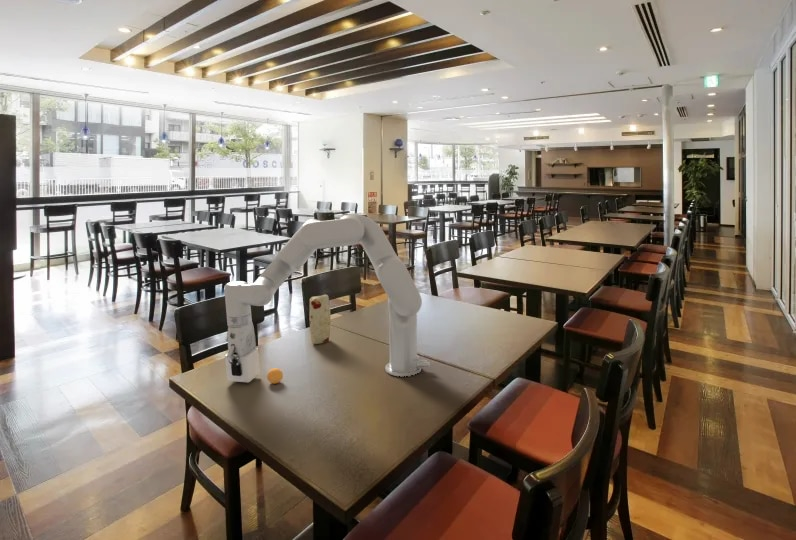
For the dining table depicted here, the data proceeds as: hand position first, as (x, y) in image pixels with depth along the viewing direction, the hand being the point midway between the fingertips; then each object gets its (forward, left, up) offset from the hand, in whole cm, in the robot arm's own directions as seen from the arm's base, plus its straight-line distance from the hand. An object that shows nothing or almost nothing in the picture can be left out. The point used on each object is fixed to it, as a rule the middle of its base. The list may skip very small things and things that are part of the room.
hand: (243, 369), depth 152 cm
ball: (-11, 0, -1) cm, 11 cm away
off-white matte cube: (0, 0, -2) cm, 2 cm away
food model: (-13, -39, -4) cm, 41 cm away
